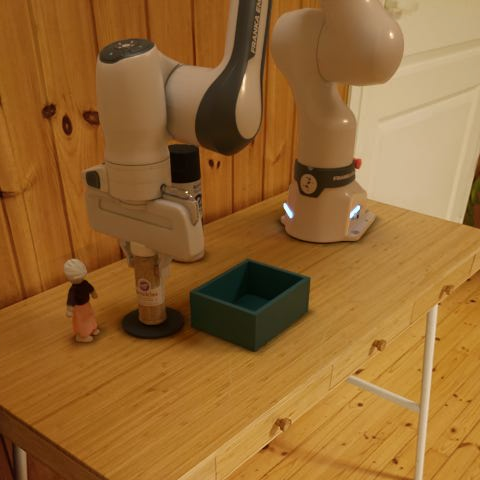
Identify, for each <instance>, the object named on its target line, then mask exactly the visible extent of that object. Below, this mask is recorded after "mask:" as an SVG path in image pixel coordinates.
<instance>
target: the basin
mask: <svg viewBox="0 0 480 480" xmlns="http://www.w3.org/2000/svg"><path fill="white" fill-rule="evenodd" d="M311 280H312V278H311V276H307V275H304V274H300V273H297V272H294V271H291V270H288V269H284V268H281V267H278V266H274V265H271V264H268V263H264V262H261V261H258V260H255V259H251V258H248V257H247V258H246V259H243V260H242V261H240V262H239V263H237V264H235V265H233V266H231V267H230V268H228V269H227V270H225V271H223V272H221V273H219V274H218V275H216V276H214V277H212V278H211V279H209V280H207V281H206V282H204V283H202V284H200V285H199V286H197V287H195V288H193V289H192V290H189V292H188V293H189V294H188V295H189V313H190V315H189V316H190V328H193V329H196V330H198V331H201V332H203V333H206V334H208V335H211V336H213V337H216V338H218V339H221V340H224V341H226V342H229V343H232V344H234V345H236V346H240V347H242V348H244V349H247V350H250V351H252V352H257V351H258V350H259V349H261V348H262V347H263V346H264V345H266V344H267V343H269V342H270V341H271V340H272V339H274V338H275V337H277V336H278V335H279V334H281V333H282V332H283V331H285V330H286V329H287V328H289V327H290V326H291V325H293V324H294V323H296V322H297V321H298V320H300V318H302V317H303V316H305V315H306V314H308V313H309V304H310V295H311V294H310V293H311Z"/></svg>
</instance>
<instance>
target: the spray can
mask: <svg viewBox="0 0 480 480" xmlns="http://www.w3.org/2000/svg"><path fill="white" fill-rule="evenodd" d="M167 146H168V149H169V154H170V169H171V184H172V187H175V188H177V189H184V190H187V191H189V192H190V193H191V195H192V196H193V197H194V198H195V200H196V201H197V202H198V204H199V213H200V217H201V222H202V228H203V229H204V215H203V194H202V193H203V191H202V171H201V170H202V169H201V158H200V157H201V156H200V149H199V146H195V145H190V144H186V143H173V144H167ZM189 199H191V198H189ZM203 235H205V234H204V233H203ZM204 256H205V249H204V250H203V251H202V252H201V254H200V255H198V256H196V257H194V258H192V259H190V260H187V261H186V260H183V259H180V258H176V257H173V259H172V261H176V262H179V263H193V262H199V261H201V260H202V259H203V258H204Z"/></svg>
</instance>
